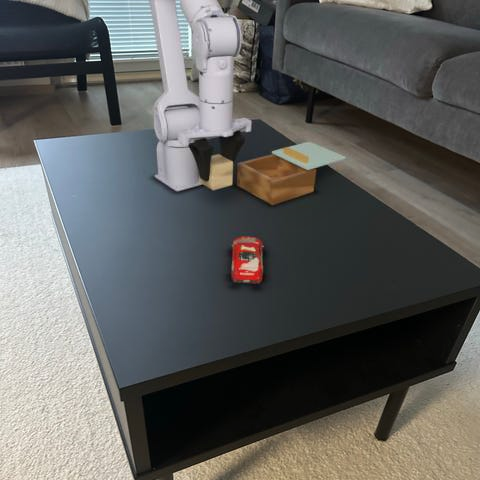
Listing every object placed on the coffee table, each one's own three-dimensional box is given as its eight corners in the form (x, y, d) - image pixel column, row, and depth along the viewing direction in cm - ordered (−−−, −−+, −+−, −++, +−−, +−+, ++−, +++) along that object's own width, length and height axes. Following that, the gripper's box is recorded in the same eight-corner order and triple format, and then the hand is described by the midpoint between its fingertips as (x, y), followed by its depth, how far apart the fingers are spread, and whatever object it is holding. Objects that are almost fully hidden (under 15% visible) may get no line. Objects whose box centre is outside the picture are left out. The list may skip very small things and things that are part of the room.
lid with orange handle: (271, 153, 112) (272, 145, 111) (308, 143, 118) (309, 136, 117) (307, 170, 105) (308, 162, 104) (345, 159, 111) (346, 151, 110)
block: (199, 182, 94) (198, 158, 91) (218, 176, 96) (218, 153, 94) (212, 190, 91) (212, 166, 89) (232, 185, 94) (233, 161, 91)
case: (236, 185, 111) (237, 163, 107) (277, 173, 117) (279, 152, 113) (272, 205, 103) (274, 182, 100) (313, 191, 109) (316, 169, 106)
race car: (232, 245, 90) (233, 225, 88) (262, 247, 90) (264, 227, 88) (228, 287, 80) (228, 265, 77) (262, 288, 80) (263, 267, 77)
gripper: (193, 112, 79) (195, 193, 87) (264, 99, 86) (259, 175, 94) (169, 100, 83) (173, 179, 91) (238, 89, 90) (236, 163, 98)
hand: (215, 176), depth 93 cm, fingers closed on block, 4 cm apart
